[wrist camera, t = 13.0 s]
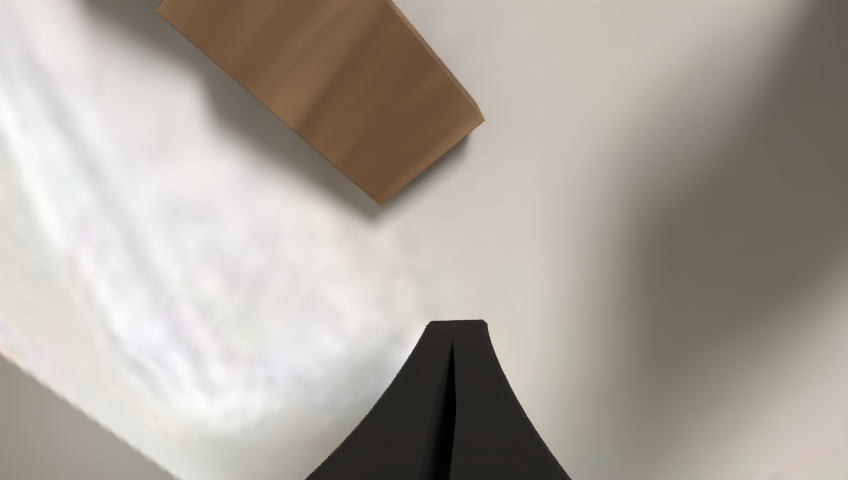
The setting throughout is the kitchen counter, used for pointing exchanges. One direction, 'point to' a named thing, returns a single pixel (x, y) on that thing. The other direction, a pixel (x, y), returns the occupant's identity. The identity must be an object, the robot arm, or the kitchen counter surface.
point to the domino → (339, 80)
